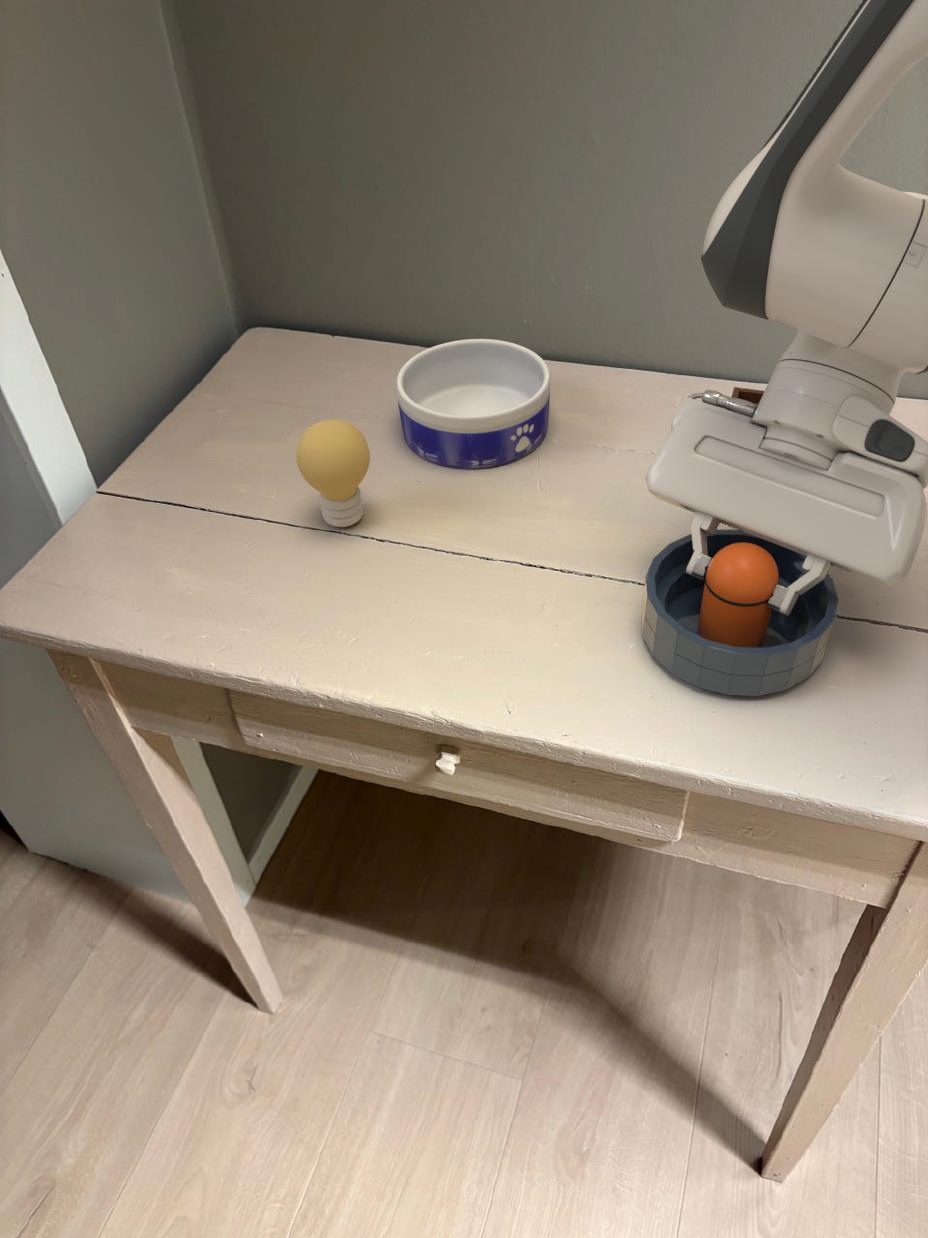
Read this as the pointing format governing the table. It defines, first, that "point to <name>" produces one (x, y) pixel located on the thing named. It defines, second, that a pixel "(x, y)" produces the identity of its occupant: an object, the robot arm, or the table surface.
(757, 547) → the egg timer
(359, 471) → the light bulb
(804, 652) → the glazed bowl
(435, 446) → the dog bowl
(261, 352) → the table surface
